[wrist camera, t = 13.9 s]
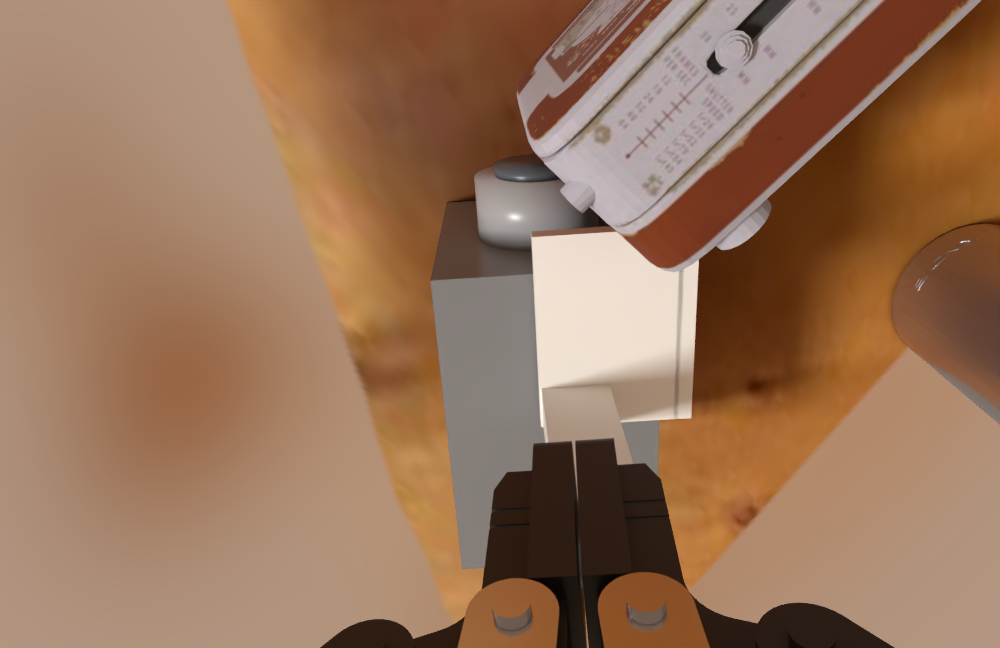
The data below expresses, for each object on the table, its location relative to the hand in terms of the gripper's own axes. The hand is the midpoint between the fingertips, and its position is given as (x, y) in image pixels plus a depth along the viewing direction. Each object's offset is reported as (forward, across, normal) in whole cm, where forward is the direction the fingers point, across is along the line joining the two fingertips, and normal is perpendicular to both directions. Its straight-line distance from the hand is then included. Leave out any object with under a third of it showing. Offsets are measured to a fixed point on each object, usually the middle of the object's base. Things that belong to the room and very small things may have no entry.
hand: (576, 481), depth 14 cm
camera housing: (+31, +2, +8) cm, 33 cm away
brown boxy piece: (+32, -7, -8) cm, 34 cm away
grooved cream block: (+31, -1, +5) cm, 31 cm away
